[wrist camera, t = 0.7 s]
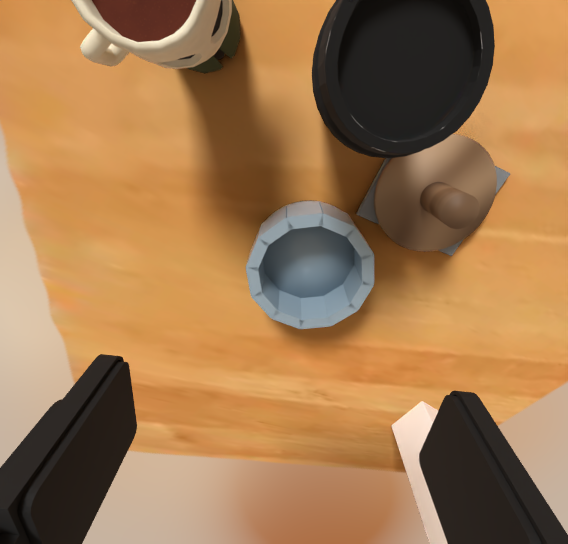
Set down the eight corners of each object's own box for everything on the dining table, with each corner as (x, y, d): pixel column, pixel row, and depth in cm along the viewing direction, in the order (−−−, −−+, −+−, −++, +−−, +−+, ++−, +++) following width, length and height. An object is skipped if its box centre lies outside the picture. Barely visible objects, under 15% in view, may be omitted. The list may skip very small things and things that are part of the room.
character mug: (186, 113, 29) (116, 114, 17) (123, 37, 26) (-8, -24, 15) (283, 19, 26) (278, -60, 14) (222, -78, 23) (154, -268, 12)
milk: (390, 424, 46) (465, 663, 26) (422, 399, 43) (530, 639, 24) (421, 442, 47) (515, 681, 27) (454, 418, 45) (581, 660, 25)
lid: (515, 163, 30) (566, 174, 24) (445, 262, 34) (474, 291, 29) (414, 111, 28) (443, 111, 23) (353, 223, 32) (366, 245, 27)
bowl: (383, 227, 33) (398, 245, 29) (332, 315, 38) (337, 342, 33) (278, 181, 31) (276, 193, 27) (237, 280, 36) (230, 304, 32)
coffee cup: (357, -1, 25) (435, -133, 12) (423, 85, 28) (550, 59, 14) (282, 89, 28) (275, 67, 14) (348, 161, 30) (395, 199, 17)
